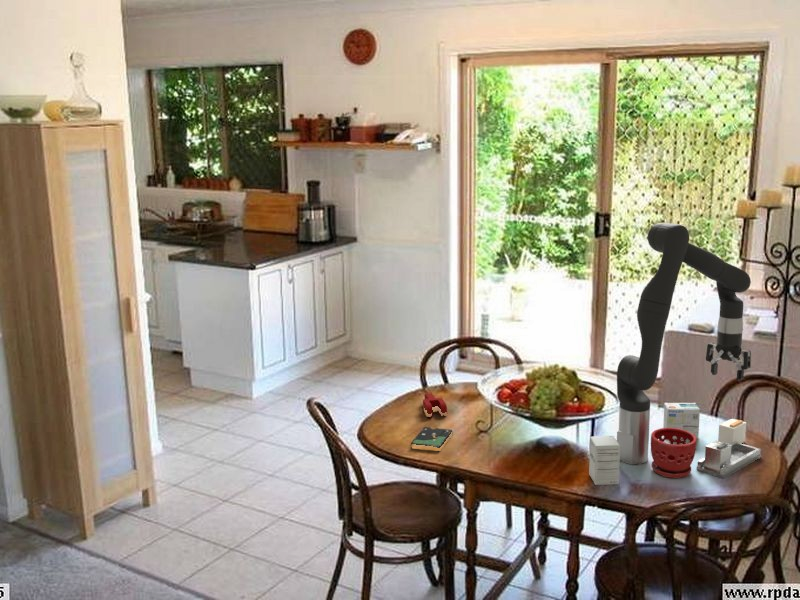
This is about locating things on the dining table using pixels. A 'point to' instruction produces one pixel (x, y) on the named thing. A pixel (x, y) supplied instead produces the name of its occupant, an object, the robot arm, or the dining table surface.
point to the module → (732, 431)
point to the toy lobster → (433, 403)
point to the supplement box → (604, 460)
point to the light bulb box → (682, 417)
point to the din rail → (727, 458)
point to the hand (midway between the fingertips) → (726, 377)
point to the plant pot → (672, 452)
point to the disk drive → (432, 437)
